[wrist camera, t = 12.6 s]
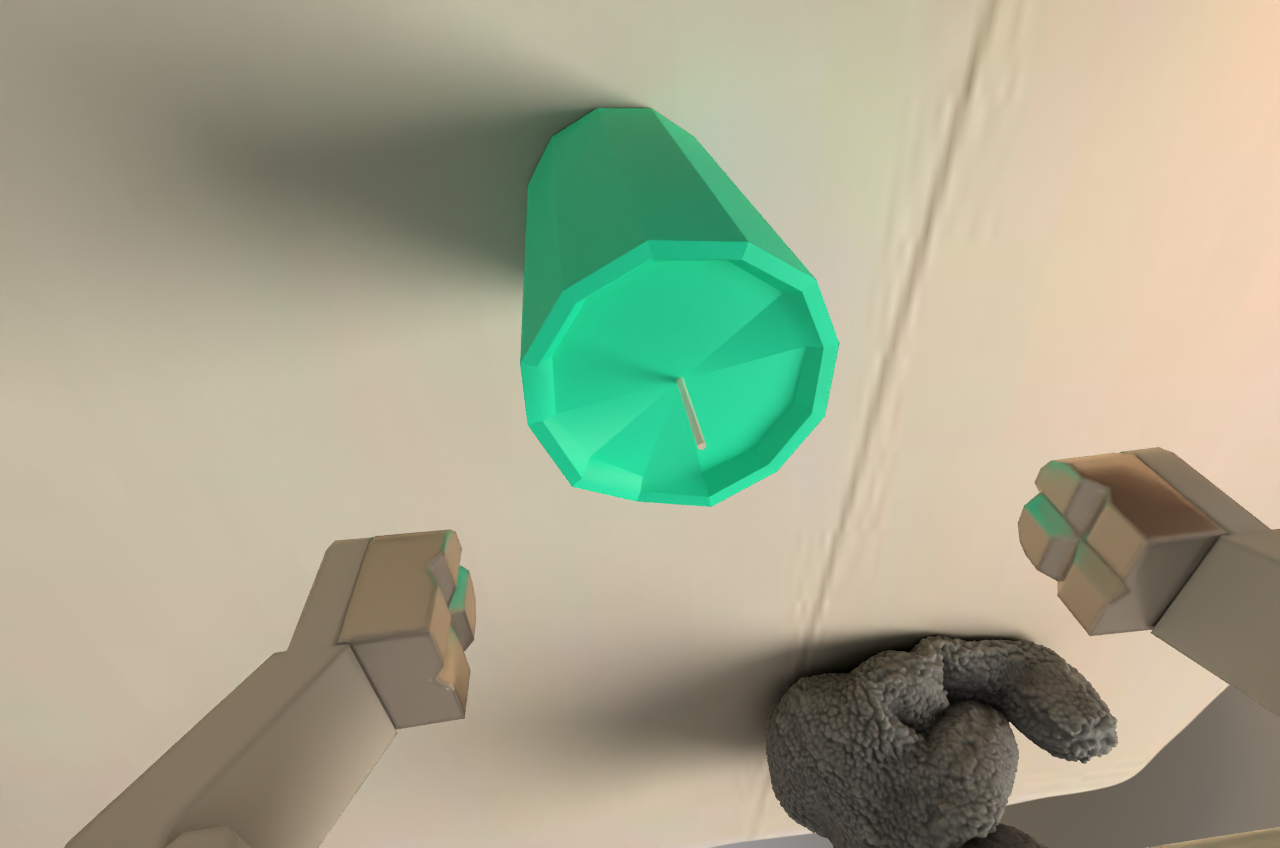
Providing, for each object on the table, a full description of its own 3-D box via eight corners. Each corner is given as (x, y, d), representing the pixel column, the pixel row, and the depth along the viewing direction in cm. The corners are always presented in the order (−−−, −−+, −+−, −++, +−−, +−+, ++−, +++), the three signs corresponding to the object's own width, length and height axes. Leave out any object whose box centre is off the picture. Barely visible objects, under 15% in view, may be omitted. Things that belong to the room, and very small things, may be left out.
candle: (548, 76, 17) (561, 225, 8) (744, 136, 19) (953, 322, 9) (510, 275, 21) (487, 552, 11) (681, 313, 22) (788, 582, 13)
